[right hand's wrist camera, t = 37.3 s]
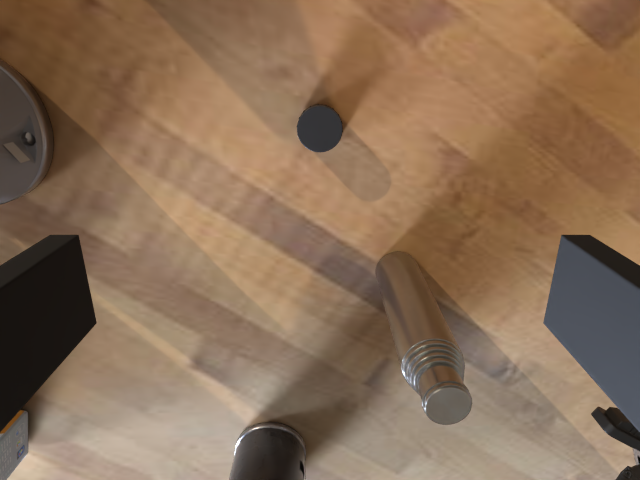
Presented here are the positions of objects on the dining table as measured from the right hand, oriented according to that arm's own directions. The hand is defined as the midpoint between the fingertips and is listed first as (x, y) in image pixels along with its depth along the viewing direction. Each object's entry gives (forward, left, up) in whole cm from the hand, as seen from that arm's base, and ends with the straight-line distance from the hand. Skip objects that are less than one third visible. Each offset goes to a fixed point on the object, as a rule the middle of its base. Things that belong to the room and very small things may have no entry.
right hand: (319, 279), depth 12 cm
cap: (0, 0, -34) cm, 34 cm away
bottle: (-3, -18, -35) cm, 40 cm away
